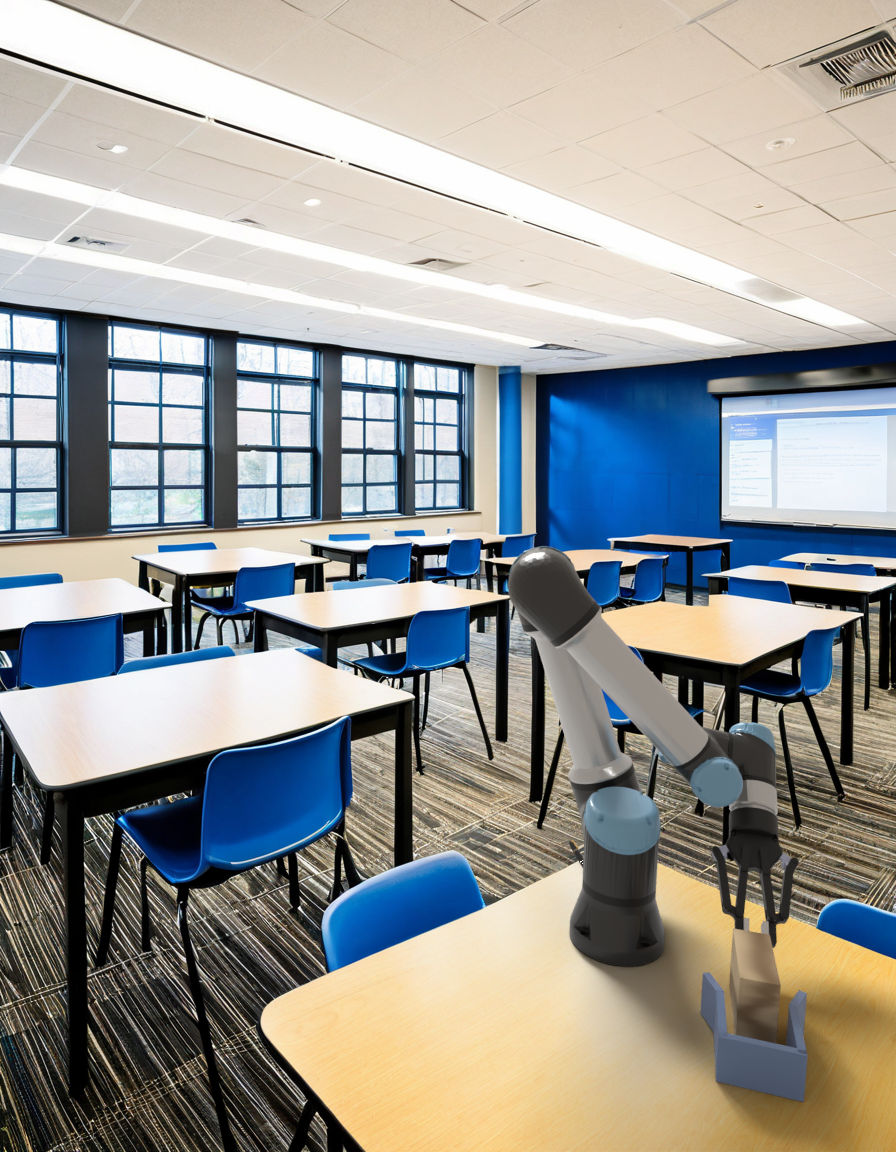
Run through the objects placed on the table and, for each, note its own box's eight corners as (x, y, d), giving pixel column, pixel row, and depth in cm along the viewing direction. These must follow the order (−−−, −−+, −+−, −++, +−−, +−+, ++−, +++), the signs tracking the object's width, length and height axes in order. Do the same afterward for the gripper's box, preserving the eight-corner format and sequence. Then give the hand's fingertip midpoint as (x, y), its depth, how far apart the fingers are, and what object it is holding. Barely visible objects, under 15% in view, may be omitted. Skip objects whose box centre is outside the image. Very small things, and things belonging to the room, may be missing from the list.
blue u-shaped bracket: (701, 1078, 95) (704, 1033, 95) (700, 1010, 108) (702, 971, 107) (818, 1105, 92) (822, 1059, 91) (803, 1032, 104) (806, 991, 103)
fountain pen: (593, 878, 145) (593, 871, 144) (587, 879, 145) (587, 871, 144) (572, 843, 159) (572, 836, 159) (566, 843, 159) (567, 837, 159)
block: (735, 1040, 102) (739, 977, 101) (729, 985, 114) (733, 928, 113) (775, 1048, 101) (780, 985, 100) (765, 992, 112) (769, 934, 111)
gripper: (798, 828, 128) (807, 983, 114) (703, 815, 132) (700, 963, 118) (806, 811, 122) (816, 972, 108) (706, 799, 126) (704, 952, 113)
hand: (755, 967), depth 113 cm, fingers closed on block, 2 cm apart
